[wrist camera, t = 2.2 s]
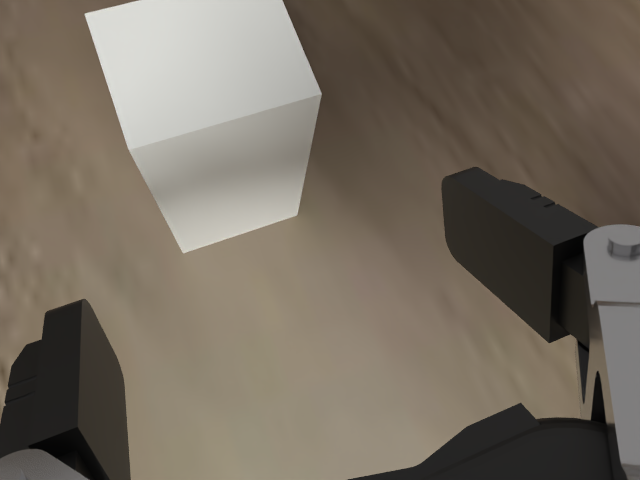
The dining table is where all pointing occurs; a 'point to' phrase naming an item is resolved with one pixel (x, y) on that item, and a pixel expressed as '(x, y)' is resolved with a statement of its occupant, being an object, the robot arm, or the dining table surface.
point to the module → (211, 109)
